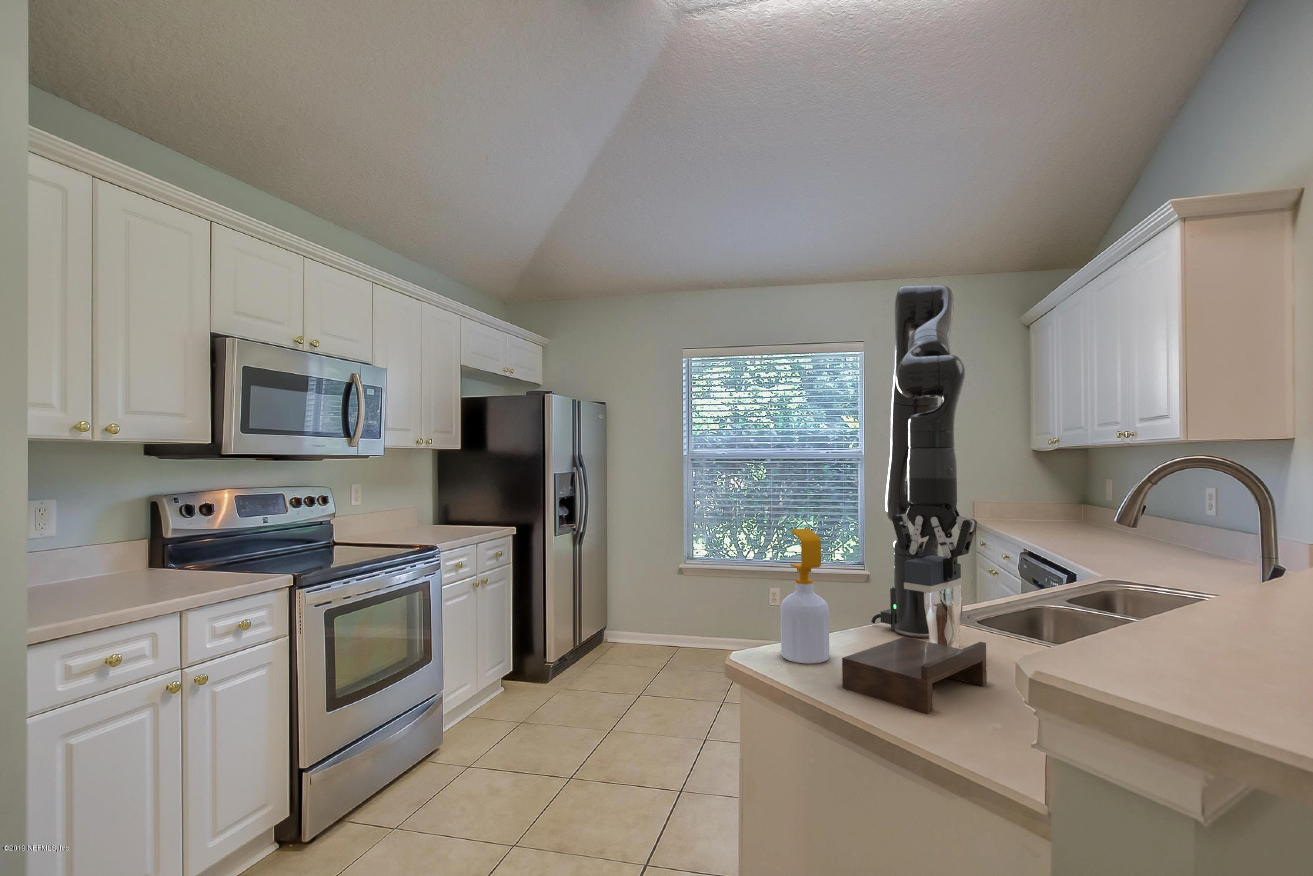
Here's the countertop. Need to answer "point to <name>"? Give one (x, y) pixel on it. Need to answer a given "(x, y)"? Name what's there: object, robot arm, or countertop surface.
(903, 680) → the board
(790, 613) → the soap bottle
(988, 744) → the countertop surface
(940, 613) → the beer glass
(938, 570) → the stepped grey pillar
